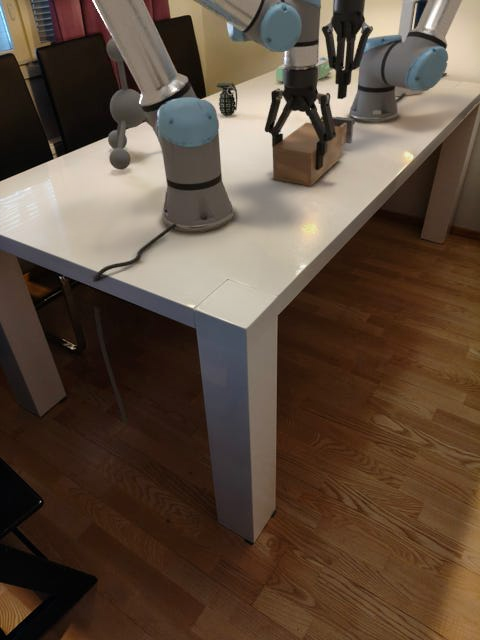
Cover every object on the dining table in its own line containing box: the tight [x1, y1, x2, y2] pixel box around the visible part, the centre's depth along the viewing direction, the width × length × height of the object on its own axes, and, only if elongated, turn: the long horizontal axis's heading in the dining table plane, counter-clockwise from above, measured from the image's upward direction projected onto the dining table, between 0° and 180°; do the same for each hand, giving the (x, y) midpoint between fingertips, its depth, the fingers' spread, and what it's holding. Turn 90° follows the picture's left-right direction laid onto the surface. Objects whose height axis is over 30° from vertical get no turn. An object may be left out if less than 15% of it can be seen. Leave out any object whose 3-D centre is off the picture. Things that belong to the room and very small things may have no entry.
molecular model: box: [106, 37, 152, 171], centre depth 132 cm, size 24×22×30 cm
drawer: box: [320, 116, 356, 148], centre depth 132 cm, size 24×9×6 cm, turn 148°
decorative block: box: [275, 56, 334, 83], centre depth 206 cm, size 26×6×20 cm
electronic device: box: [395, 0, 428, 98], centre depth 172 cm, size 12×8×30 cm, turn 105°
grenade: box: [215, 82, 238, 117], centre depth 166 cm, size 7×6×10 cm
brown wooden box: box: [272, 122, 343, 187], centre depth 124 cm, size 19×10×8 cm, turn 148°
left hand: (298, 164), depth 121 cm, fingers closed on brown wooden box, 10 cm apart
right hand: (341, 97), depth 132 cm, fingers closed
